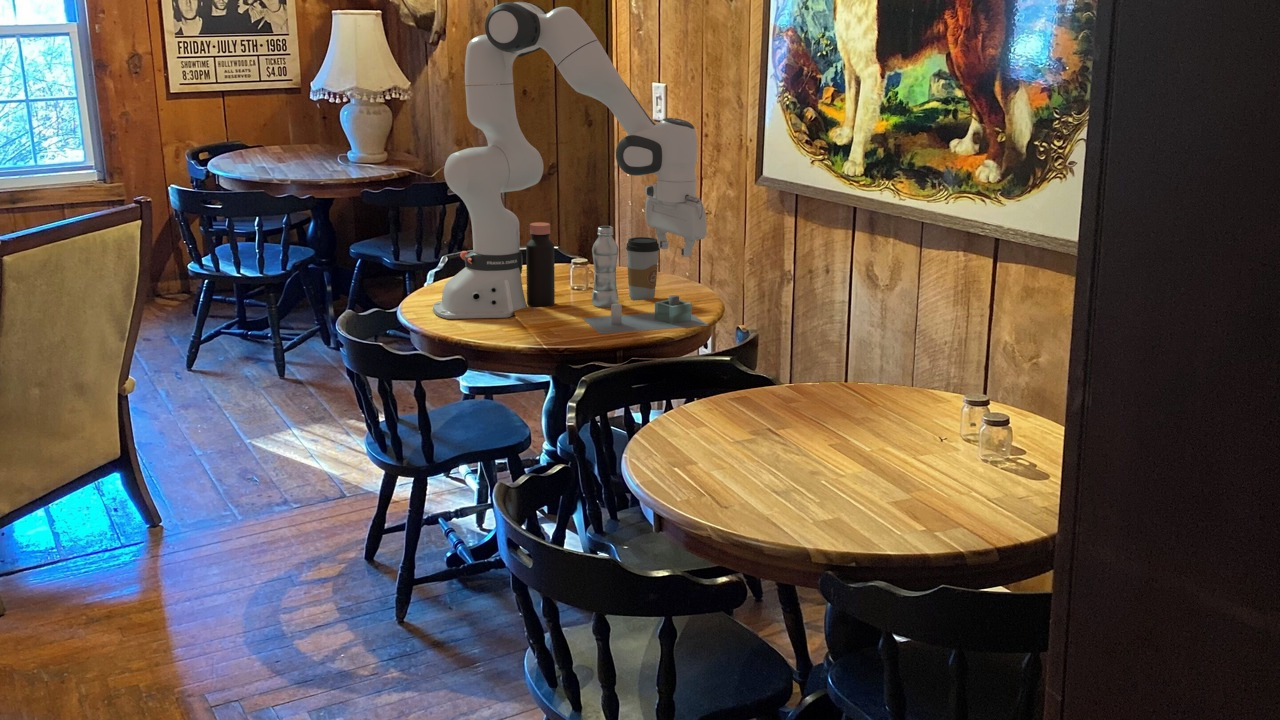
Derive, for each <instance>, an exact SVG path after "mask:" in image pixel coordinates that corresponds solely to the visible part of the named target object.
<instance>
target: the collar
mask: <svg viewBox="0 0 1280 720" xmlns="http://www.w3.org/2000/svg"><path fill="white" fill-rule="evenodd" d="M654 313H655V319H656V320H660V321H663V322H666V323H669V324H676V323H680V322H685V321H690V320H691V314H692V303H691V302H688V301H684V300H681V299H679V305H675V306H671V305H669V299H664V300H660V301H655V302H654Z"/></svg>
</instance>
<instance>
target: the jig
mask: <svg viewBox="0 0 1280 720" xmlns="http://www.w3.org/2000/svg"><path fill="white" fill-rule="evenodd" d="M668 300H669V305H671V306H675V305H679V300H680V295H677V294H676V295H674V294H673V295H669V296H668ZM622 306H623V305H622V304H621V303H617V304H611V307H610V316H609V315H608V316H595V317H583V318H582V320H584V321H585V322H586V324H589V326H591V327H592V328H593V329H594V330H595V331H596V332H597V333H598V334H600V335H605V334H607V335H608V334H619V333H630V332H644V331H655V330H658V331H659V330H668V329H679V328H680V329H683V328H694V327H705V326H707V327H708V326H710V325H709V324H707V323H706V322H705V321H703V320H702V319H700V318H698V317H697V316H696V315H694V314H692V313H691V320H690V321H685V322H680V323H676V324H669V323H666V322H663V321H660V320H656V319H655V312H650V313H637V314H635V313H634V314H623V315H622V310H623V309H622V308H623V307H622Z"/></svg>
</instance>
